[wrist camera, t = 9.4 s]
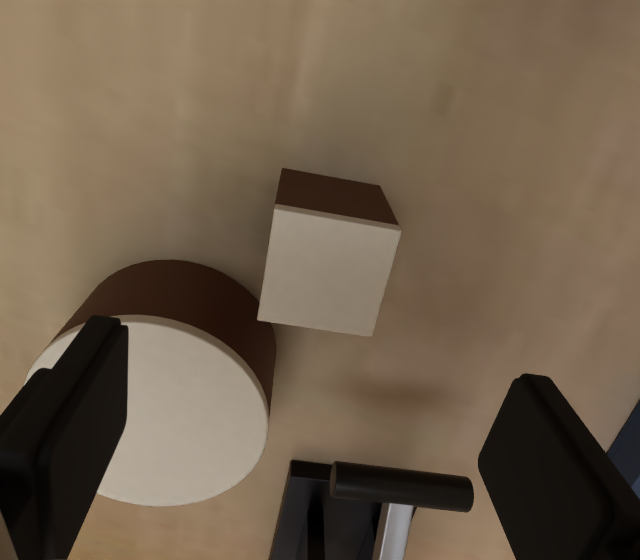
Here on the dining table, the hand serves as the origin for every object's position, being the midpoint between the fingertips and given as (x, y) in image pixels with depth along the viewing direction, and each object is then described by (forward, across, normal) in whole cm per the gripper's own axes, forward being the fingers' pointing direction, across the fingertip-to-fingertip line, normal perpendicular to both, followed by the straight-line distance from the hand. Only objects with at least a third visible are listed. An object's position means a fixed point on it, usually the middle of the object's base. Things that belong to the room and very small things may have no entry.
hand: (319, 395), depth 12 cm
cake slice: (+12, -1, 0) cm, 12 cm away
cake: (+12, +5, +8) cm, 15 cm away
